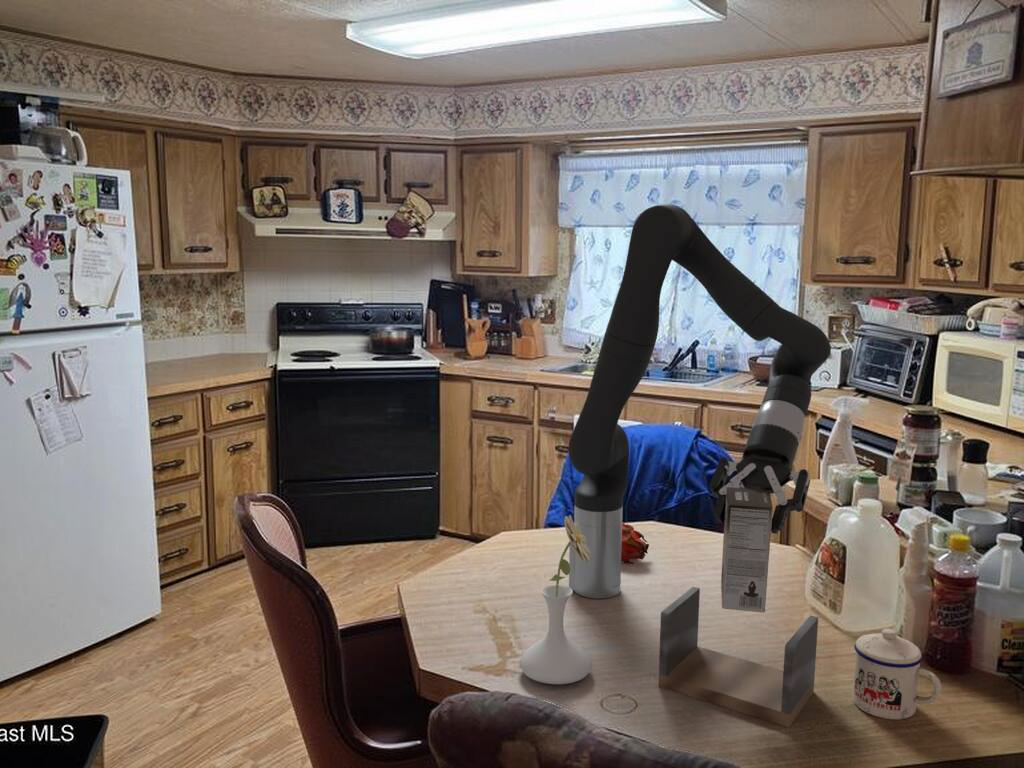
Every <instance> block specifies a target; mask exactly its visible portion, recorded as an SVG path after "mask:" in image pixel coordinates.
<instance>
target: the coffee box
mask: <svg viewBox="0 0 1024 768" xmlns="http://www.w3.org/2000/svg"><path fill="white" fill-rule="evenodd" d="M773 506H774V505H773V503H772V498H771V494H770V492H769V490H765V489H749V488H733V487H727V492H726V507H725V520H724V523H723V526H724V527H723V540H722V541H723V544H722V555H721V556H722V559H721V581H720V588H721V591H720V592H721V608H722V609H724V610H733V611H743V612H744V611H745V612H755V613H766V599H767V590H768V589H767V588H768V575H769V574H768V573H769V572H768V571H769V561H770V560H769V559H770V550H771V549H770V548H771V535H772V532H771V525H772V518H773V513H774V512H773V511H774V510H773V509H774V508H773Z"/></svg>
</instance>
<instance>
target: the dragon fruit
mask: <svg viewBox="0 0 1024 768" xmlns="http://www.w3.org/2000/svg"><path fill="white" fill-rule="evenodd" d="M644 537H645V536H644V535H643V534H642V533H641V532H639V531H637V530H635V528H634V526H632V525H630V524H628V523H625V522H622V548H621V563H623V564H624V565H635V564H636V563H634V562H633V561H631V560H642V561H643V560H644V558H645V557H646V554H648V550H649V547H650V544H649V543H648V541H647V540H646V539H645V538H644Z"/></svg>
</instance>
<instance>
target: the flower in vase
mask: <svg viewBox="0 0 1024 768" xmlns="http://www.w3.org/2000/svg"><path fill="white" fill-rule="evenodd" d="M563 523H564V528H565V531H566V535H567V538H568V540H569V541H568V542H567V544H566V546H565V548H564V550H563V552H562V554H561V557H560V560H559V563H558V568H557V573H556V574H554V576H552V578H550V579H549V580H548V581H549V582H550V581H551V582H556V584H549V585H545V586H543V587H542V588H540V593H541V595H542V596H543V598H544V599H545V602H546V604H547V609H548V622H549V623H548V631H547V634H546V635H545V636H544V637H543V638H542V639H540V640H538V641H537V642H535V643H534V644H532V645H531V646H530V647H528V648H527V649H526V650H525V651H524V652H523V653H522V655H521V657H520V659H519V668H520V669H521V670H522V672H523V674H524V675H525V676H527V678H529V679H532V680H533V681H535V682H539V683H542V684H547V685H548V684H549V685H567V684H572V683H575V682H578V681H580V680H581V681H582V680H583V679H585V678H586V677H587V675H589V674H590V672H591V671H592V667H593V663H592V661H591V658H590V655H589V654H588V653H587V652H586V651H585V650H584V649H583V648H582V647H581V646H579V645H578V644H577V643H575V642H573V641H572V640H571V639H570V638H568V637H567V636H566V634H565V630H564V615H565V610H566V606H567V604H568V603H567V602H568V600H569V599H570V597H571V596H572V595H573V592H574V590H572V589H571V588H569V586H567V585H565V584H559V583H560V581H561V580H562V579H565V578H566V576H569V573H570V566H569V560H567V559H564V557H565V556H566V553H567V551H568V550H569V547H570V544H572V547H573V550H574V551H575V553H576V554H577V556H578V557H579V558H580V560H581V561H582V562H583V561H584V562H585V563H586V562H588V561H590V559H589V557H588V555H587V554H586V553H588V554H591V552H590V550H589V549H588V547H587V545H586V544H585V542H586V541H587V540H586V537H585V536H584V535H582V533H581V531H580V530H579V525H578V523H577V522H576V524H574V519H573V517H572V516H571V514H570V515H568V516H566V515H565V516H564V521H563ZM587 560H588V561H587ZM561 572H562V573H563V574H564V575H566V576H561V575H560V573H561Z"/></svg>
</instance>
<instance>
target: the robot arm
mask: <svg viewBox="0 0 1024 768" xmlns="http://www.w3.org/2000/svg"><path fill="white" fill-rule="evenodd" d="M628 244H629V245H628V250H627V251H628V252H627V255H626V260H625V266H624V271H623V275H622V280H621V283H620V286H619V289H618V292H617V294H616V298H615V301H614V305H613V307H612V311H611V315H610V318H609V321H608V323H607V326H606V329H605V332H604V336H603V339H602V343H601V345H600V350H599V354H598V358H597V361H596V366H595V368H594V370H593V371H594V372H593V374H592V378H591V382H590V385H589V388H588V392H587V396H586V399H585V402H584V404H583V407H582V408H581V411H580V413H579V416H578V419H577V421H576V423H575V426H574V428H573V430H572V433H571V436H570V439H569V442H568V451H567V452H568V457H569V460H570V463H571V465H572V467H573V468H574V469H575V470H576V472H578V473H579V474H581V475H583V477H582V480H581V481H580V483H579V485H577V487H576V489H575V491H574V504H573V505H574V513H573V515H574V517H573V523H574V524H576V522H577V523H578V525H579V530H580V531H581V533H582V535H584V536H585V537H586V540H587V541H586V542H585V544H586V545H587V547H588V549H589V550H590V552H591V554H588V553H586V554H587V555H588V557H589V559H590V561H588V560H587V561H588V562H586V563H585V562H584V561H583V562H582V561H581V560H580V558H579V557H578V556H577V554H576V553H575V551H574V550H573V547H572V544H570V546H569V547H568V550H569V556H568V557H569V560H568V563H569V566H570V573H569V574H568V587H569V588H571V589H572V590H573V592H574V593H576V594H577V595H579V596H581V597H584V598H585V597H586V598H589V599H608V598H609V599H610V598H613V597H615V596H617V595H618V594H620V592H621V584H622V582H621V581H622V579H621V577H622V576H621V575H622V562H621V548H622V523H623V506H624V505H623V504H624V503H623V501H624V496H625V493H626V491H627V488H628V479H629V477H628V476H629V464H630V444H629V438H628V435H627V434H626V431H625V430H624V428H623V427H622V426H621V425H620V424H618V422H619V419H620V416H621V414H622V411H623V409H624V408H625V406H626V404H627V402H628V401H629V399H630V398H631V396H633V395H632V394H633V393H634V392H635V390H636V389H637V387H638V385H639V384H640V382H641V380H642V379H643V377H644V375H645V373H646V371H647V369H648V368H649V365H650V362H651V359H652V355H653V353H654V348H655V346H656V343H657V338H658V335H659V326H660V302H661V293H662V288H663V284H664V281H665V280H666V276H667V273H668V271H669V268H670V265H671V263H672V261H673V262H674V263H676V264H678V265H679V266H681V267H682V268H684V269H685V271H687V272H688V273H689V274H691V275H692V276H693V277H694V278H695V279H696V280H697V281H698V282H699V283H700V284H701V285H702V286H703V288H704V289H705V290H706V292H707V293H708V294H709V295H710V297H711V298H712V300H713V301H714V302H715V304H716V305H717V306H718V307H719V309H720V310H721V311H722V313H724V314H725V316H727V317H728V318H729V319H730V320H731V321H732V322H733V323H734V324H735V325H737V326H738V328H740V329H741V330H742V331H743V332H745V334H747V336H749V337H750V338H751V339H752V340H755V341H756V342H761V341H764V340H766V339H768V338H770V339H772V340H774V341H775V342H777V343H779V344H781V345H780V346H779V347H778V349H777V350H776V352H775V353H774V356H773V358H772V361H771V364H770V367H769V368H770V369H769V374H768V375H769V376H768V385H767V388H766V391H765V393H764V396H763V398H762V402H761V405H760V408H759V410H758V411H757V413H756V415H755V417H754V420H753V424H752V426H751V429H750V432H749V435H748V438H747V441H746V443H745V447H744V450H743V454H742V456H741V459H739V460H738V462H734V461H729V460H728V459H727V457H723V456H722V457H721V458H720V459H719V461H718V463H717V465H716V468H715V471H714V473H713V475H712V478H711V480H710V483H709V489H710V491H711V493H712V496H713V497H714V498H717V500H716V503H715V506H714V509H713V515H714V517H715V519H716V521H717V523H719V524H724V523H725V507H726V492H727V487H733V488H749V489H765V490H769V492H770V495H773V494H774V497H775V499H776V501H777V502H778V505H776V506H775V509H774V510H773V511H774V512H773V513H772V525H771V534H774V535H777V534H779V532H782V531H783V530H784V527H785V524H786V520H787V517H788V514H789V513H790V512H793V511H796V512H797V513H801V512H802V511H804V508H805V504H806V500H807V496H808V492H809V488H810V484H811V479H810V475H809V473H808V470H807V469H803V468H801V469H800V470H799V471H793V470H792V467H793V464H794V461H795V458H796V454H797V451H798V448H799V445H800V443H801V441H802V437H803V436H802V435H803V433H804V424H805V420H806V417H807V414H808V410H809V408H810V403H811V399H812V389H811V386H810V385H809V384H810V380H811V378H812V376H813V375H814V374H815V373H816V371H817V370H818V369H820V368H821V367H822V366H823V364H825V362H827V360H828V359H829V357H830V355H831V353H832V352H831V351H832V349H831V348H832V347H831V342H830V340H829V338H828V336H827V335H826V333H824V331H823V330H822V329H820V328H819V326H817V325H815V324H814V323H813V322H811V321H809V320H807V319H805V318H803V317H801V316H800V315H797V314H795V313H794V312H792V311H789V310H787V309H786V308H783V307H781V306H780V305H779V304H778V303H777V301H775V300H774V299H773V298H772V297H771V296H770V295H768V294H767V293H766V292H765V291H763V289H761V288H760V287H759V286H758V285H757V284H756V283H755V282H753V281H752V280H751V279H750V278H749V277H747V275H745V274H744V273H743V272H742V271H741V270H740V269H738V268H737V266H736V265H734V263H732V262H731V261H730V260H729V259H728V258H727V257H726V256H725V255H724V254H723V253H722V252H721V251H720V250H719V249H718V248H717V247H716V246H715V245H714V244H713V242H712V241H711V239H709V237H708V236H707V235H706V234H705V232H704V231H703V230H702V229H701V227H700V226H699V224H698V223H696V221H695V220H694V219H693V218H692V216H691V215H690V213H688V212H687V211H686V210H685V209H684V208H683V207H680V206H678V205H674V204H654V205H651V206H648V207H645V209H643V210H641V212H640V213H639V214H638V216H637V217H636V219H635V221H634V222H633V226H632V230H631V235H630V238H629V243H628ZM735 471H736V472H737V474H736V475H734V476H733V477H732V478H730V479H729V482H728V483H727V484H726V481H727V480H728V477H730V476H731V475H732V474H733V472H735ZM791 480H792V481H793V484H794V486H795V488H794V492H793V495H792V498H788V499H787V497H786V495H785V493H784V490H783V488H782V487H784V486H785V485H787V484H788V483H789V482H790V481H791Z"/></svg>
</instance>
